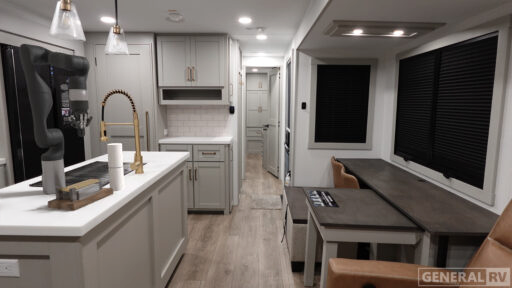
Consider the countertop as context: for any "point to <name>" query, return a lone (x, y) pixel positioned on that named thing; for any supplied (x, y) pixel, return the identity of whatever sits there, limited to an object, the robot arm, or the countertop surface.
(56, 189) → the stand
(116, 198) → the countertop surface
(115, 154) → the cylindrical container
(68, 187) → the plate
